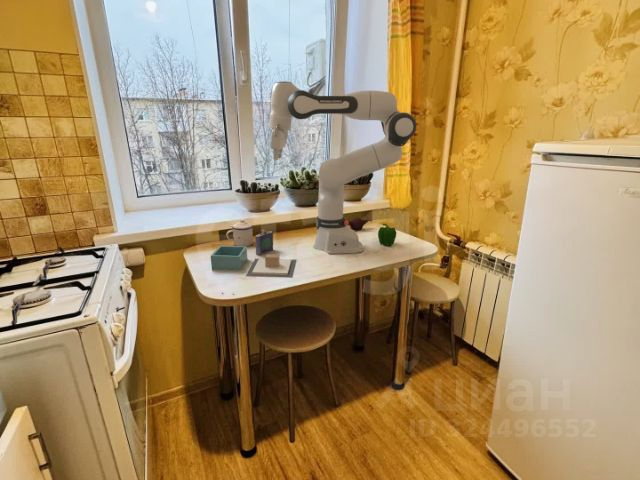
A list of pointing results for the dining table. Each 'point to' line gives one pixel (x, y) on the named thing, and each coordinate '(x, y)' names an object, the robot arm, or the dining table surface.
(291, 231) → the dining table surface
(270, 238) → the flask
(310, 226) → the dining table surface
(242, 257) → the teal open box
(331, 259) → the dining table surface
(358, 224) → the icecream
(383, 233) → the bell pepper
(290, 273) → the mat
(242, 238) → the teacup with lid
